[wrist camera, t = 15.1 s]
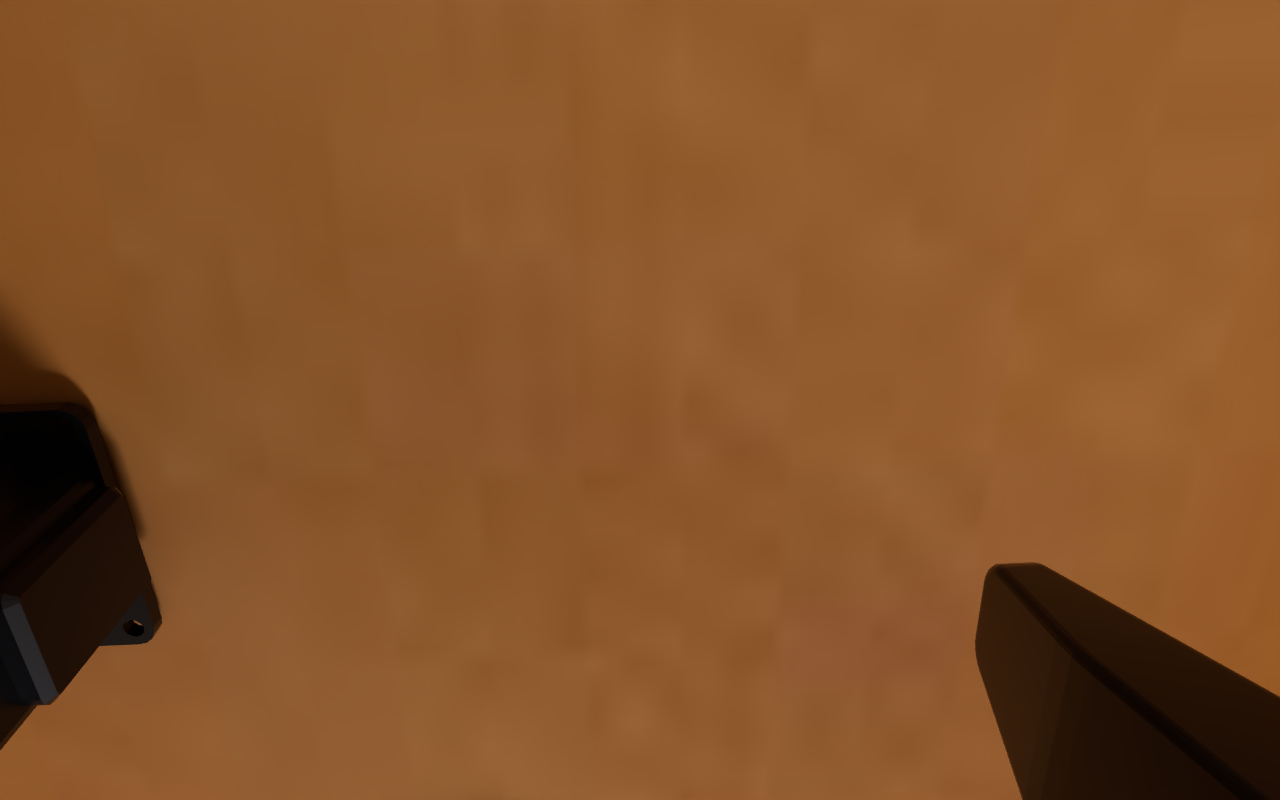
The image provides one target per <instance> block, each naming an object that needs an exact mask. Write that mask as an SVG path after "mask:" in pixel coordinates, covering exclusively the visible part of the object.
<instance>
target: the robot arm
mask: <svg viewBox="0 0 1280 800" xmlns="http://www.w3.org/2000/svg"><path fill="white" fill-rule="evenodd" d="M62 420H63V421H67V422H68V423H70V424H72V426H73V427H74V429H75V432H71V431H69V430H68V429H66V428H65V426H64V425H63V423H62ZM150 581H151V576H150V573H149V570H148V567H147V564H146V561H145V558H144V555H143V552H142V549H141V546H140V543H139V540H138V537H137V534H136V531H135V528H134V525H133V522H132V519H131V516H130V513H129V510H128V507H127V504H126V501H125V498H124V496H123V495H122V494H121V492H120V491H119V489H118V486H117V483H116V480H115V477H114V474H113V471H112V468H111V465H110V462H109V459H108V456H107V453H106V450H105V447H104V444H103V441H102V438H101V435H100V432H99V429H98V426H97V423H96V421H95V419H94V417H93V415H92V414H91V413H90V412H89V411H88V410H87V409H86V408H84V407H82V406H80V405H78V404H75V403H68V402H65V403H42V404H19V405H0V750H1V749H2V748H3V746H4V745H5V744H6V743H7V742H8V740H9V739H10V738H11V737H12V735H13V734H14V733H15V732H16V731H17V729H18V728H19V727H20V726H21V725H22V723H23V722H24V721H25V720H26V718H27V717H28V716H29V715H30V714H31V712H32V711H33V710H34V709H35V707H36V706H37V705H50V704H51V703H53V702H54V701H55V700H56V699H57V698H58V697H59V695H60V694H61V693H62V692H63V691H64V689H65V688H66V687H67V686H68V684H69V683H70V682H71V681H72V679H73V678H74V677H75V676H76V674H77V673H78V672H79V671H80V669H81V668H82V667H83V666H84V664H85V663H86V662H87V661H88V659H89V658H90V657H91V656H92V654H93V653H94V652H95V651H96V649H97V648H98V647H99V646H109V645H131V644H142V643H147V642H148V641H149V640H151V639H152V638H153V637H154V635H155V634H156V632H157V631H158V630H159V628H160V626H161V624H162V617H161V614H160V611H159V608H158V605H157V602H156V599H155V596H154V593H153V590H152V587H151V584H150ZM133 620H135V621H138V622H139V623H141V624H142V625H143V626H141V625H138V624H136V623H134V621H133ZM975 650H976V658H977V663H978V667H979V670H980V673H981V676H982V679H983V682H984V685H985V688H986V691H987V694H988V697H989V700H990V703H991V706H992V709H993V712H994V716H995V719H996V722H997V725H998V728H999V731H1000V734H1001V737H1002V740H1003V743H1004V746H1005V749H1006V752H1007V755H1008V758H1009V761H1010V764H1011V767H1012V770H1013V773H1014V776H1015V779H1016V782H1017V785H1018V788H1019V791H1020V794H1021V797H1022V800H1280V697H1279V696H1277V695H1276V694H1274V693H1272V692H1270V691H1268V690H1267V689H1265V688H1263V687H1261V686H1259V685H1258V684H1256V683H1254V682H1252V681H1250V680H1249V679H1247V678H1245V677H1243V676H1241V675H1240V674H1238V673H1236V672H1234V671H1233V670H1231V669H1229V668H1227V667H1225V666H1224V665H1222V664H1220V663H1218V662H1216V661H1215V660H1213V659H1211V658H1209V657H1207V656H1206V655H1204V654H1202V653H1200V652H1198V651H1197V650H1195V649H1193V648H1191V647H1190V646H1188V645H1186V644H1184V643H1182V642H1181V641H1179V640H1177V639H1175V638H1173V637H1172V636H1170V635H1168V634H1166V633H1164V632H1163V631H1161V630H1159V629H1157V628H1155V627H1154V626H1152V625H1150V624H1148V623H1146V622H1145V621H1143V620H1141V619H1139V618H1138V617H1136V616H1134V615H1132V614H1130V613H1129V612H1127V611H1125V610H1123V609H1121V608H1120V607H1118V606H1116V605H1114V604H1112V603H1111V602H1109V601H1107V600H1105V599H1103V598H1102V597H1100V596H1098V595H1096V594H1094V593H1093V592H1091V591H1089V590H1087V589H1086V588H1084V587H1082V586H1080V585H1078V584H1077V583H1075V582H1073V581H1071V580H1069V579H1068V578H1066V577H1064V576H1062V575H1060V574H1059V573H1057V572H1055V571H1053V570H1051V569H1050V568H1048V567H1046V566H1044V565H1042V564H1039V563H1033V562H1032V563H1009V564H996V565H994V566H993V567H991V568H990V569H989V570H988V572H987V574H986V577H985V581H984V587H983V593H982V599H981V606H980V612H979V619H978V625H977V632H976V639H975Z"/></svg>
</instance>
